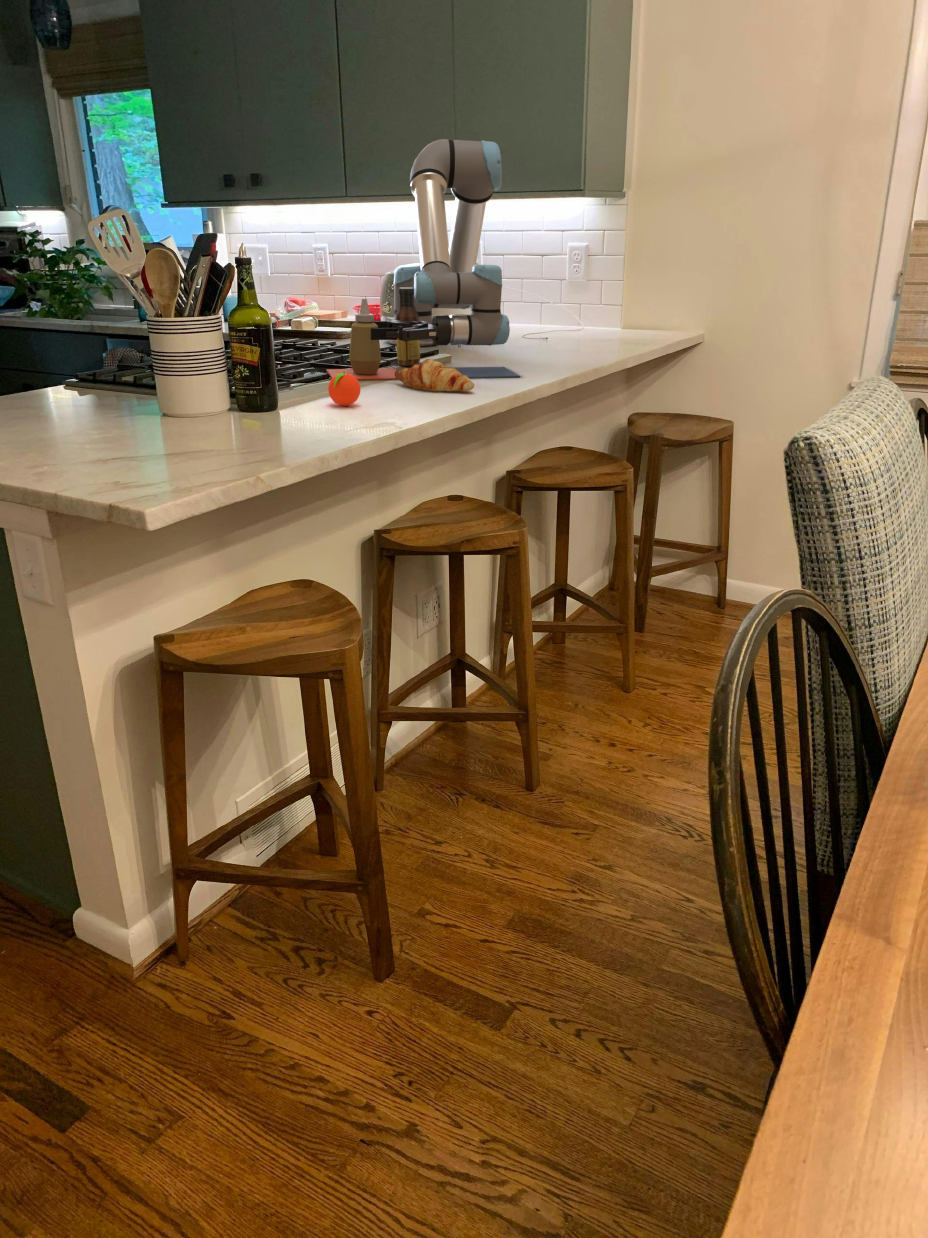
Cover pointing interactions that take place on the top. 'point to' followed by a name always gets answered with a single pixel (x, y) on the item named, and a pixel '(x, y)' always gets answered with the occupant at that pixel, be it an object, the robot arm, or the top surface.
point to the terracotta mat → (380, 375)
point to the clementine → (344, 389)
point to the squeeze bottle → (364, 343)
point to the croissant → (434, 377)
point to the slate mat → (487, 372)
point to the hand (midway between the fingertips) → (366, 330)
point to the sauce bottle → (406, 312)
